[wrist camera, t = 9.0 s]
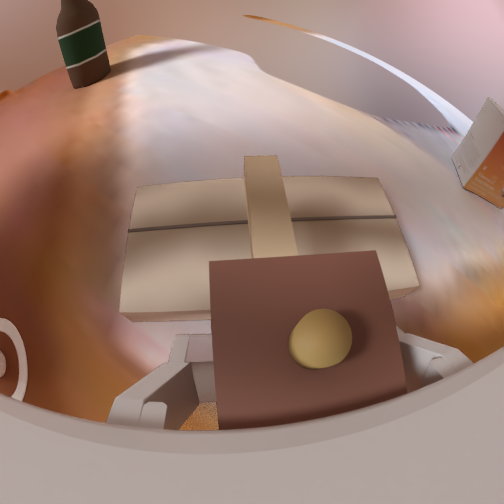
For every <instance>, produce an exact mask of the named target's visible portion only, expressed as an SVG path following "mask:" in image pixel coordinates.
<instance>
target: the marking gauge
mask: <svg viewBox="0 0 504 504" xmlns="http://www.w3.org/2000/svg"><path fill="white" fill-rule="evenodd" d="M244 187H245V197H246V207H247V216H248V226H249V236H250V245H251V255H252V259H236V260H220V261H209V284H210V311H211V331H212V349H213V364H214V378H215V391H216V403H217V414H218V424H219V430H231V429H246V428H258V427H267V426H275V425H283V424H290V423H296V422H302V421H308V420H313V419H318V418H323V417H328V416H332V415H337V414H341V413H345V412H349V411H353V410H357V409H360V408H364V407H367V406H371V405H374V404H377V403H381V402H384V401H387V400H390V399H393V398H396V397H399V396H402V395H404V394H407V385H406V378H405V371H404V365H403V359H402V353H401V348H400V343H399V338H398V333H397V328H396V323H395V319H394V314H393V310H392V306H391V302H390V298H389V294H388V290H387V287H386V283H385V279H384V276H383V272H382V269H381V265H380V262H379V259H378V256H377V252H376V250H371V251H357V252H343V253H328V254H313V255H298V251H297V246H296V241H295V236H294V231H293V226H292V221H291V216H290V212H289V207H288V202H287V198H286V193H285V188H284V184H283V179H282V175H281V171H280V166H279V162H278V158H277V156H244Z"/></svg>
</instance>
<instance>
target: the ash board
mask: <svg viewBox="0 0 504 504" xmlns="http://www.w3.org/2000/svg"><path fill="white" fill-rule="evenodd" d="M282 179H283V184H284V188H285V193H286V198H287V202H288V207H289V212H290V216H291V221H292V226H293V231H294V236H295V241H296V246H297V251H298V255H313V254H328V253H343V252H357V251H371V250H376V252H377V256H378V259H379V262H380V265H381V269H382V272H383V276H384V279H385V283H386V287H387V290H388V294H389V298H390V299H394V298H400V297H405V296H406V295H407V294H409V293H410V292H412V291H413V290H414V289H416V288H417V287H419V286H420V285H419V282H418V279H417V276H416V272H415V269H414V266H413V263H412V260H411V257H410V254H409V252H408V249H407V246H406V243H405V240H404V238H403V235H402V233H401V230H400V227H399V225H398V222H397V220H396V215H394V213H393V210H392V208H391V206H390V203H389V201H388V199H387V197H386V194H385V192H384V190H383V188H382V186H381V184H380V181H379V179H378V178H367V177H338V176H282ZM236 259H252V255H251V245H250V236H249V226H248V216H247V207H246V197H245V187H244V178H228V179H213V180H199V181H188V182H177V183H167V184H158V185H149V186H141V187H137V190H136V194H135V199H134V204H133V209H132V215H131V220H130V226H129V229H128V238H127V244H126V251H125V259H124V267H123V275H122V285H121V296H120V309H119V312H120V313H121V314H122V315H124V316H125V317H126V318H128V319H129V320H131V321H185V320H208V319H211V311H210V284H209V261H220V260H236Z"/></svg>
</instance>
